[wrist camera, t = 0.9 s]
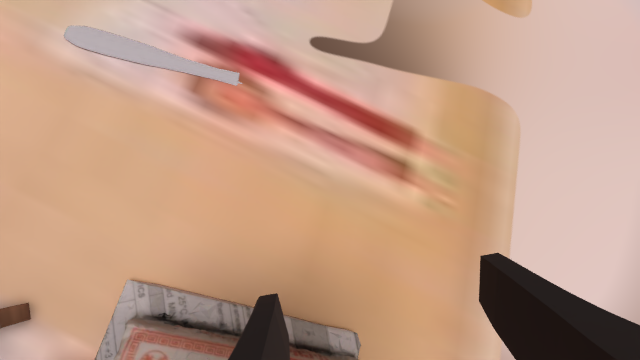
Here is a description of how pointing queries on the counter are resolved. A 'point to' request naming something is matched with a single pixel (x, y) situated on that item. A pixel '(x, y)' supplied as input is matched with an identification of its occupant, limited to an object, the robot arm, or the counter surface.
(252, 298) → the counter surface
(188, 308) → the packaged product
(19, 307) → the box
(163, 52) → the butter knife
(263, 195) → the counter surface
